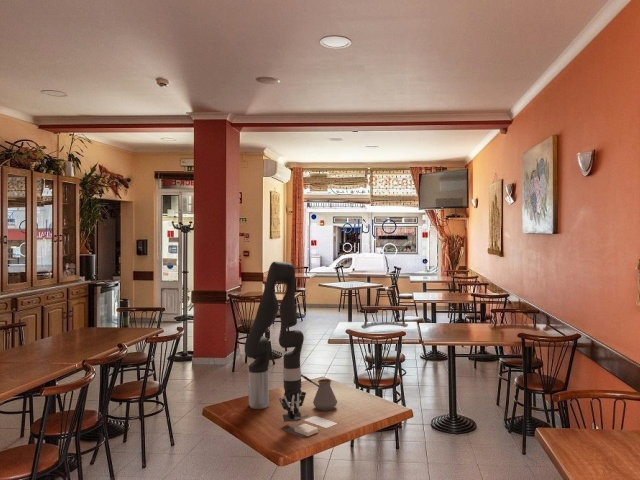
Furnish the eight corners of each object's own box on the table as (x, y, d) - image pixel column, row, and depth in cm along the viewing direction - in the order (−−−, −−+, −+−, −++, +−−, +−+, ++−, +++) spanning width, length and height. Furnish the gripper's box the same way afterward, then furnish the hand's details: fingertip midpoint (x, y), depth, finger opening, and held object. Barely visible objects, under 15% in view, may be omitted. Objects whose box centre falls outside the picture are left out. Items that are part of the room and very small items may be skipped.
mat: (283, 431, 217) (283, 429, 217) (300, 424, 224) (300, 423, 224) (302, 439, 208) (302, 437, 208) (320, 431, 215) (320, 430, 215)
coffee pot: (341, 406, 247) (341, 374, 246) (329, 413, 237) (328, 381, 236) (304, 399, 258) (303, 369, 257) (291, 406, 248) (290, 375, 248)
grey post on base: (282, 422, 222) (281, 415, 222) (289, 419, 225) (288, 412, 225) (302, 421, 213) (300, 414, 213) (309, 419, 216) (307, 411, 216)
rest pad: (303, 421, 228) (303, 420, 228) (315, 417, 233) (315, 415, 233) (326, 429, 218) (326, 428, 218) (337, 424, 223) (337, 423, 223)
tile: (294, 427, 215) (307, 432, 209) (305, 423, 219) (318, 428, 213) (294, 431, 215) (307, 436, 209) (305, 427, 219) (318, 432, 213)
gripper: (298, 372, 227) (299, 411, 227) (273, 379, 217) (275, 420, 217) (310, 375, 222) (311, 415, 222) (285, 382, 212) (286, 424, 212)
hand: (293, 417), depth 220 cm, fingers closed on grey post on base, 2 cm apart
